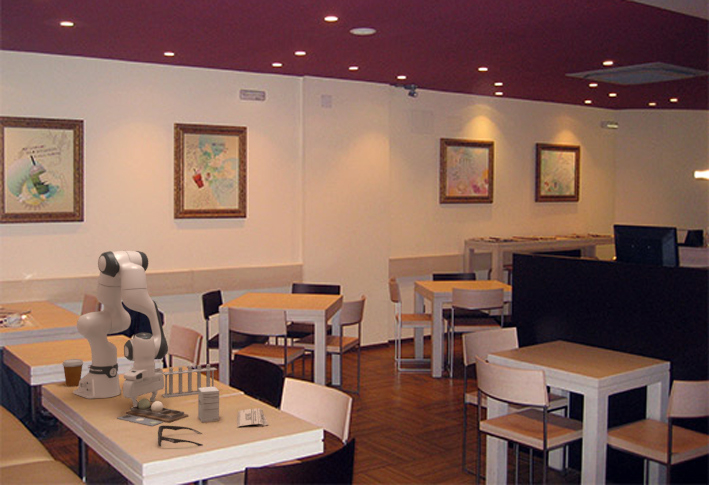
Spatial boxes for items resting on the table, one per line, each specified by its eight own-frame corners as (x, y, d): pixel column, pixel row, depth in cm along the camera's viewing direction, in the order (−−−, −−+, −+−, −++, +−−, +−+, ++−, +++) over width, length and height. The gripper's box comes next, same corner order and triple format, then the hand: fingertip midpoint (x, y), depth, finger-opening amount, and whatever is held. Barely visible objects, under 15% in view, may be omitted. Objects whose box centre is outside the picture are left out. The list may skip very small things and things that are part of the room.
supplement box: (197, 417, 292) (197, 387, 292) (215, 415, 295) (215, 386, 295) (201, 422, 285) (201, 391, 285) (219, 420, 288) (219, 390, 288)
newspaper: (268, 428, 281) (267, 422, 281) (237, 432, 280) (236, 426, 279) (266, 412, 304) (266, 406, 304) (238, 415, 302) (237, 410, 302)
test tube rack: (164, 398, 323) (164, 369, 322) (161, 396, 326) (161, 367, 326) (217, 392, 335) (217, 364, 334) (214, 390, 338) (214, 362, 338)
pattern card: (116, 418, 289) (116, 417, 289) (128, 415, 295) (128, 413, 295) (152, 426, 279) (152, 425, 279) (163, 422, 285) (163, 421, 285)
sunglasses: (157, 435, 269) (159, 422, 269) (202, 438, 273) (203, 425, 273) (155, 449, 253) (157, 436, 253) (203, 452, 257) (204, 438, 257)
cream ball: (148, 413, 294) (148, 401, 294) (157, 410, 299) (157, 399, 298) (157, 415, 292) (157, 403, 292) (165, 412, 296) (165, 400, 296)
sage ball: (135, 410, 298) (135, 399, 298) (144, 408, 303) (144, 396, 302) (143, 412, 296) (143, 400, 296) (152, 409, 300) (152, 398, 300)
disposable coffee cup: (76, 381, 351) (76, 357, 350) (87, 384, 345) (87, 360, 345) (58, 385, 343) (58, 361, 343) (69, 388, 338) (69, 363, 337)
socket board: (126, 413, 297) (126, 408, 297) (146, 407, 306) (146, 402, 306) (169, 422, 284) (169, 417, 284) (188, 416, 294) (188, 411, 294)
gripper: (157, 366, 309) (157, 397, 310) (120, 375, 291) (120, 408, 292) (167, 368, 306) (167, 399, 306) (131, 377, 288) (131, 410, 289)
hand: (144, 404), depth 299 cm, fingers open, 8 cm apart
